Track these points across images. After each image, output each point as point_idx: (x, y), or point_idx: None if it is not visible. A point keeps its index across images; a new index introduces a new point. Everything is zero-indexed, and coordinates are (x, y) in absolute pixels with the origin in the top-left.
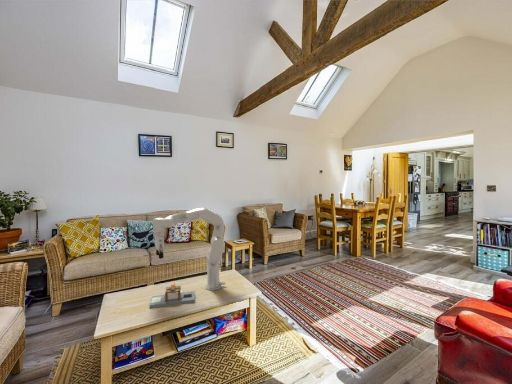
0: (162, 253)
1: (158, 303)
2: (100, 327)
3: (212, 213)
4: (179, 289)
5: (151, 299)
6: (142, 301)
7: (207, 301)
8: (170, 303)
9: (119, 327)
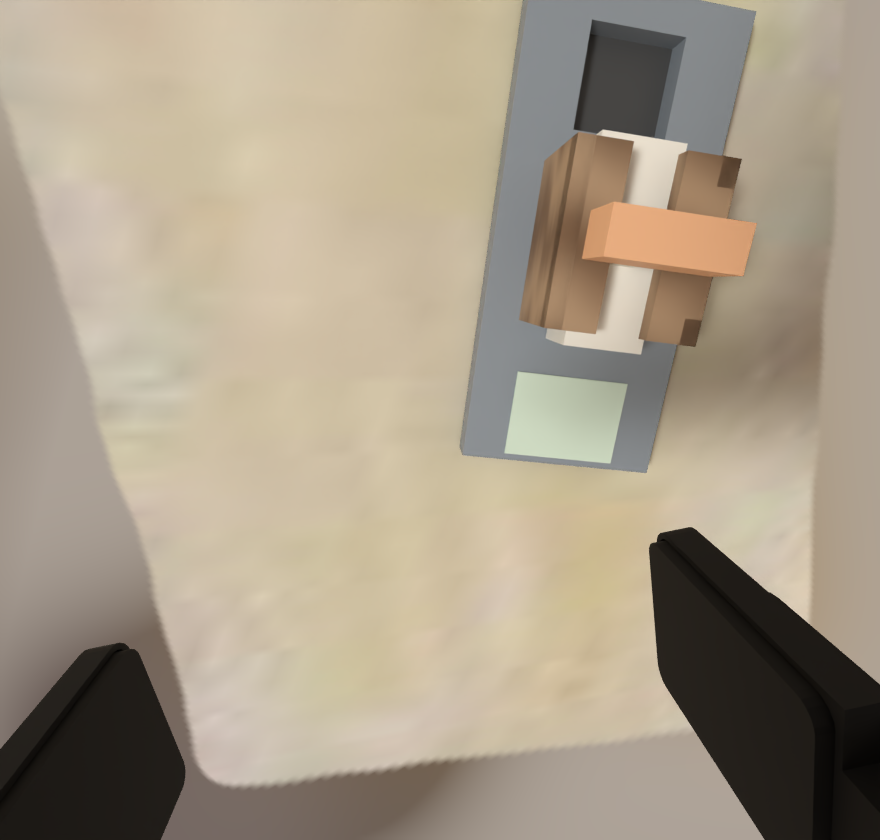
0: (855, 711)
1: (650, 398)
2: None
3: None
4: (697, 163)
5: (535, 461)
6: (470, 525)
7: None
8: None
9: None
